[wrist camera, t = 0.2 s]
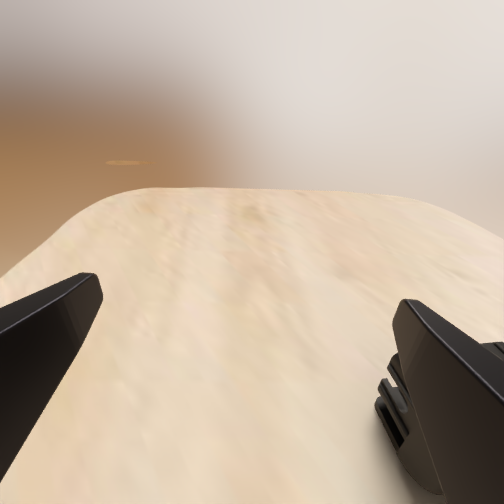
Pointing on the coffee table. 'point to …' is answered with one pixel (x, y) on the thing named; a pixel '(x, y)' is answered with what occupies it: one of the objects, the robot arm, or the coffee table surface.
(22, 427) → the robot arm
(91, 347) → the coffee table surface
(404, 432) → the end cap
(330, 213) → the coffee table surface
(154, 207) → the coffee table surface
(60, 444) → the coffee table surface
